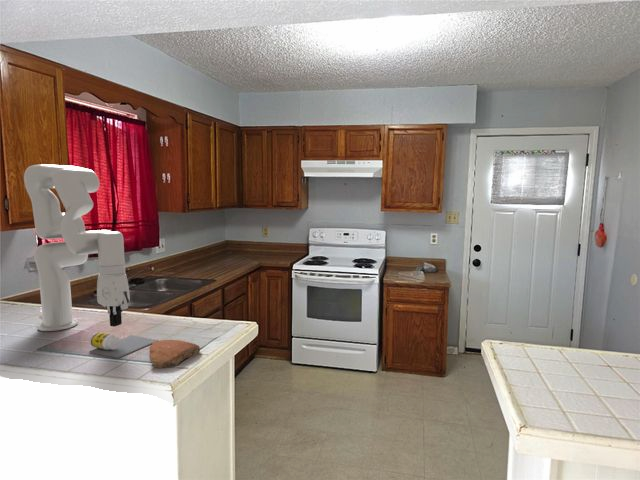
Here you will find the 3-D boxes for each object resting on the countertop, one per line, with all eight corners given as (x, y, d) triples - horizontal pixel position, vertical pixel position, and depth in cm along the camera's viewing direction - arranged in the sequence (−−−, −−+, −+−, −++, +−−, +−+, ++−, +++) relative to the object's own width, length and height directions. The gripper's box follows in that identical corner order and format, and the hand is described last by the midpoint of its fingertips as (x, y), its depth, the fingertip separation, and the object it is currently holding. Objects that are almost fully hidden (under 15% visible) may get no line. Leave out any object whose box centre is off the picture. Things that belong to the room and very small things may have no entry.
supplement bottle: (97, 329, 134) (115, 332, 131) (105, 337, 137) (123, 341, 134) (86, 341, 131) (105, 345, 128) (95, 350, 134) (114, 354, 131)
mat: (89, 352, 131) (89, 350, 131) (131, 336, 145) (131, 335, 145) (118, 358, 126) (118, 357, 126) (158, 341, 140) (158, 340, 140)
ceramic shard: (127, 348, 120) (160, 338, 135) (128, 371, 120) (162, 358, 134) (171, 346, 116) (200, 336, 131) (172, 369, 116) (202, 357, 130)
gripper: (85, 270, 134) (89, 325, 136) (119, 273, 128) (122, 331, 130) (106, 266, 141) (109, 319, 143) (138, 269, 135) (141, 324, 137)
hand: (116, 325), depth 136 cm, fingers closed
